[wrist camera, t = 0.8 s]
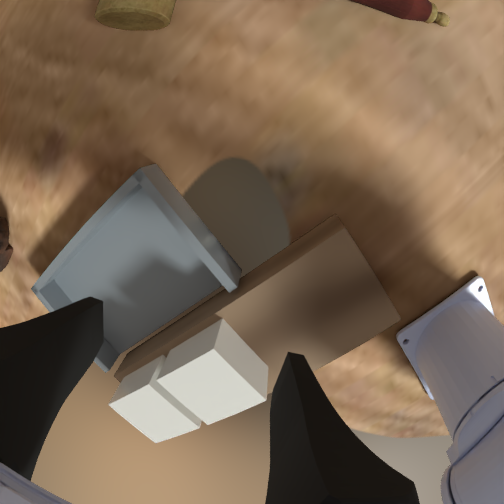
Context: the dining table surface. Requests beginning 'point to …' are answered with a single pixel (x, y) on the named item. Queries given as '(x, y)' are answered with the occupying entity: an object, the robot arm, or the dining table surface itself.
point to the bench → (291, 306)
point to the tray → (138, 262)
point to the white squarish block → (152, 405)
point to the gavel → (162, 3)
